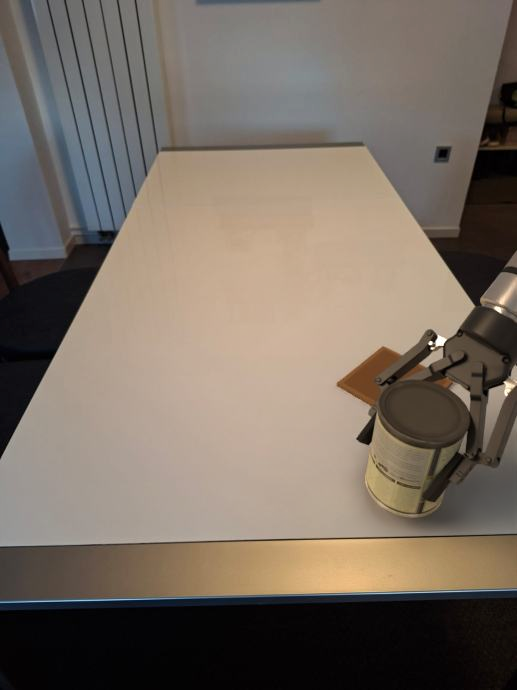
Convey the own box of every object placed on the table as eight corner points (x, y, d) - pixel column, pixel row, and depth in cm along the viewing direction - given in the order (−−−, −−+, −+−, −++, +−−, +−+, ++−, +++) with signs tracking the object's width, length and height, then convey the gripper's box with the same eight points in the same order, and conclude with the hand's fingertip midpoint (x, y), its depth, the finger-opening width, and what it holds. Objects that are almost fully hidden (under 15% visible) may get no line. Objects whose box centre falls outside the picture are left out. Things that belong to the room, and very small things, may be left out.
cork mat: (452, 383, 84) (453, 380, 84) (408, 427, 77) (409, 425, 76) (382, 348, 92) (383, 345, 92) (336, 385, 84) (336, 382, 84)
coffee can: (374, 444, 71) (388, 370, 62) (449, 468, 67) (475, 392, 59) (354, 501, 64) (367, 425, 55) (436, 531, 60) (464, 455, 51)
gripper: (607, 379, 54) (481, 537, 56) (437, 292, 68) (343, 420, 71) (602, 360, 48) (463, 537, 51) (419, 269, 63) (317, 410, 65)
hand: (393, 469), depth 61 cm, fingers closed on coffee can, 10 cm apart
